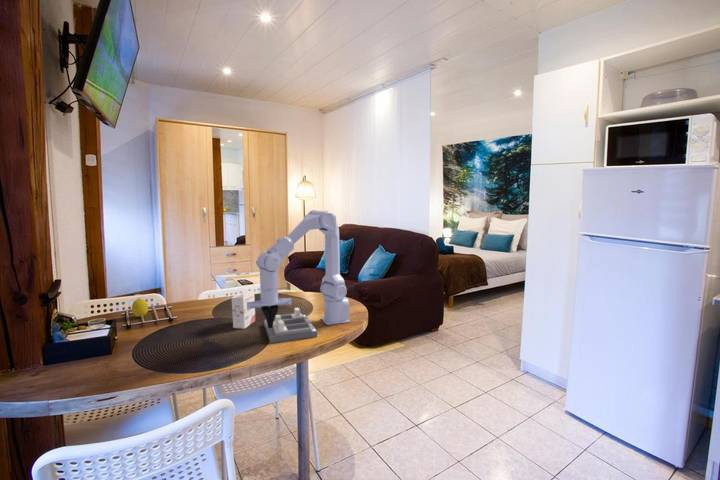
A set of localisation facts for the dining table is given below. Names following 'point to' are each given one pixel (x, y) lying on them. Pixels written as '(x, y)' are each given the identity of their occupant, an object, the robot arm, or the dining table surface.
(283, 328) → the tab
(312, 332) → the switch panel
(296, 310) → the tab
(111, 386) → the dining table surface
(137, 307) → the lemon
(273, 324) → the tab
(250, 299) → the ink cartridge box
